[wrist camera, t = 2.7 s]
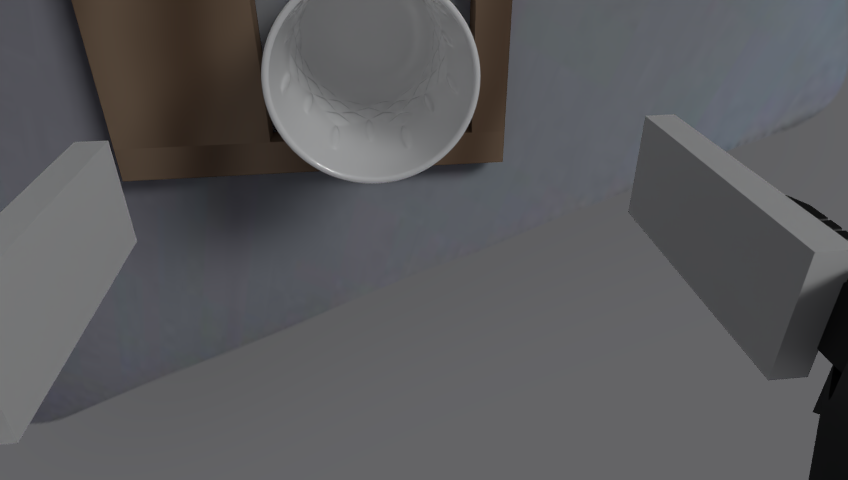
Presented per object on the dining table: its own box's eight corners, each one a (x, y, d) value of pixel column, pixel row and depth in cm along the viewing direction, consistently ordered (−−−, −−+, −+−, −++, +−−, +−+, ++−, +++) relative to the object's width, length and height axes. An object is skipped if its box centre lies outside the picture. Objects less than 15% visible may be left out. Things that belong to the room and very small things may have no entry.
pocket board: (131, 169, 33) (122, 181, 32) (48, -135, 26) (32, -136, 25) (496, 151, 35) (502, 161, 34) (512, -139, 28) (520, -140, 26)
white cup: (332, 127, 33) (327, 214, 25) (254, -16, 29) (215, 29, 21) (467, 65, 32) (510, 133, 24) (405, -91, 28) (429, -77, 20)
